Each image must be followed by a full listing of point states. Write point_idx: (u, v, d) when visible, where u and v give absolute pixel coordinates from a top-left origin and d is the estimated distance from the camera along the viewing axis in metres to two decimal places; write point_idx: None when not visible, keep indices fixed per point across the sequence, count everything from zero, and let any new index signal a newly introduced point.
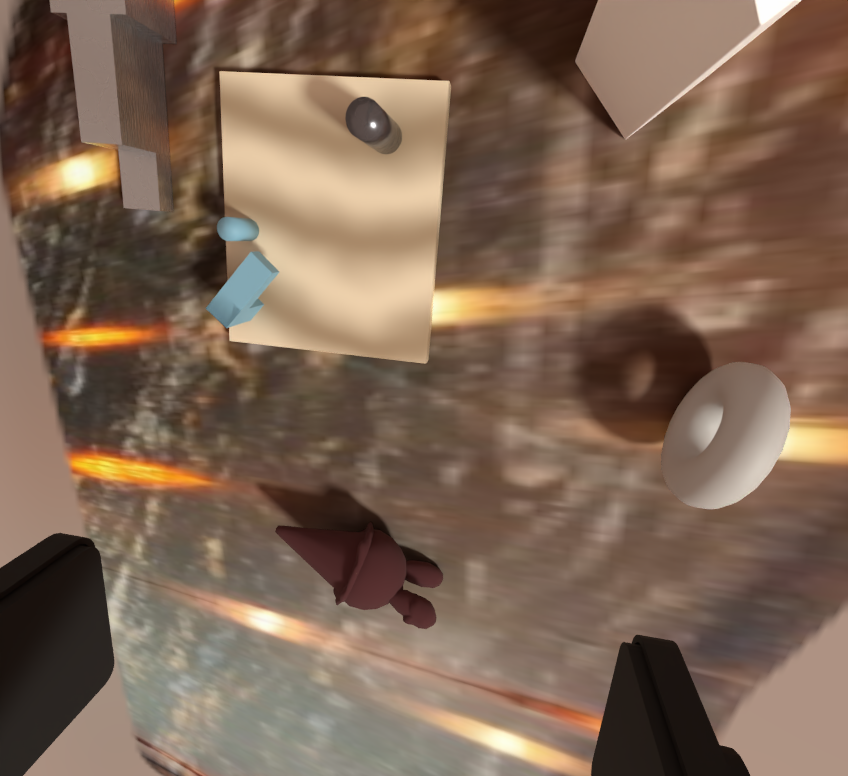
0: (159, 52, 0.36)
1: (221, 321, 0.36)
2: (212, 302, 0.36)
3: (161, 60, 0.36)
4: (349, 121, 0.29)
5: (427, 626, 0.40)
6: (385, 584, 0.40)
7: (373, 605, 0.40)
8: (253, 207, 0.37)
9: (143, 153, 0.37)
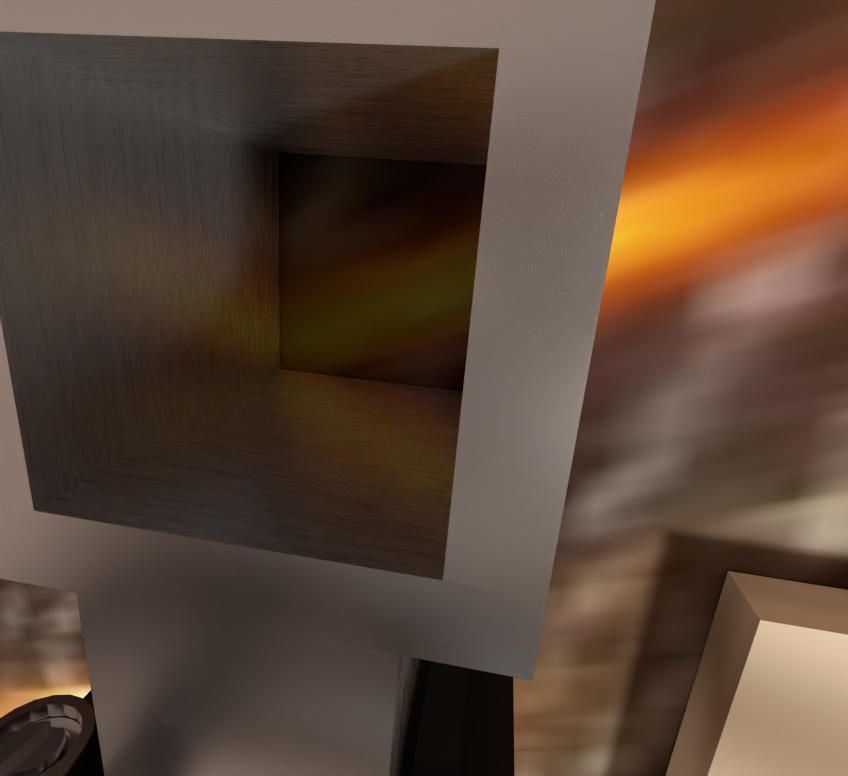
0: None
1: None
2: None
3: None
4: None
5: None
6: None
7: None
8: None
9: None
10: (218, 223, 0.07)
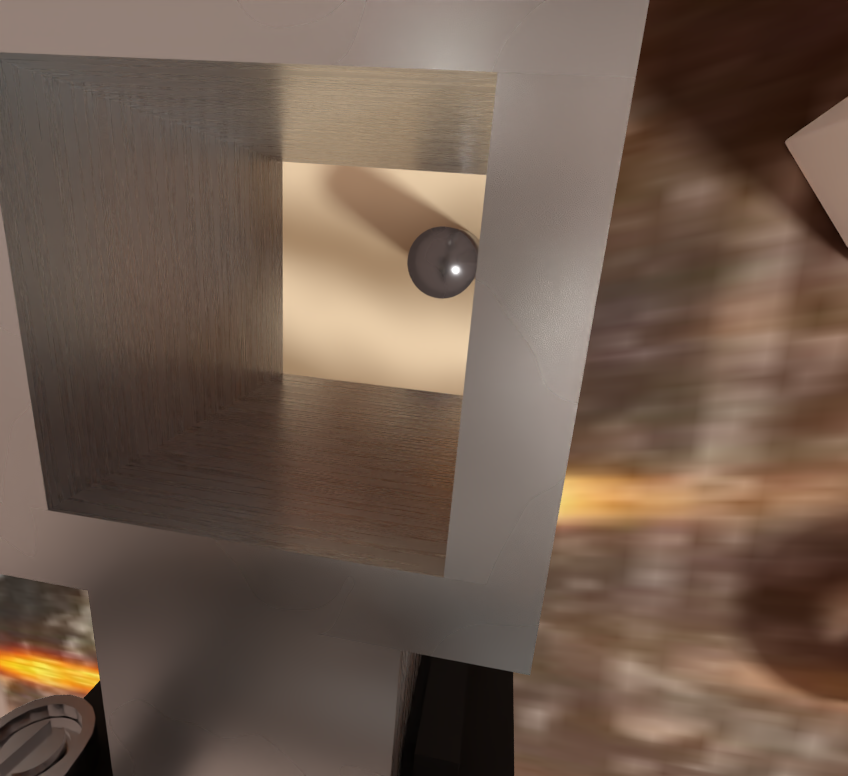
0: None
1: None
2: None
3: None
4: (414, 267, 0.16)
5: None
6: None
7: None
8: None
9: None
10: (225, 231, 0.07)
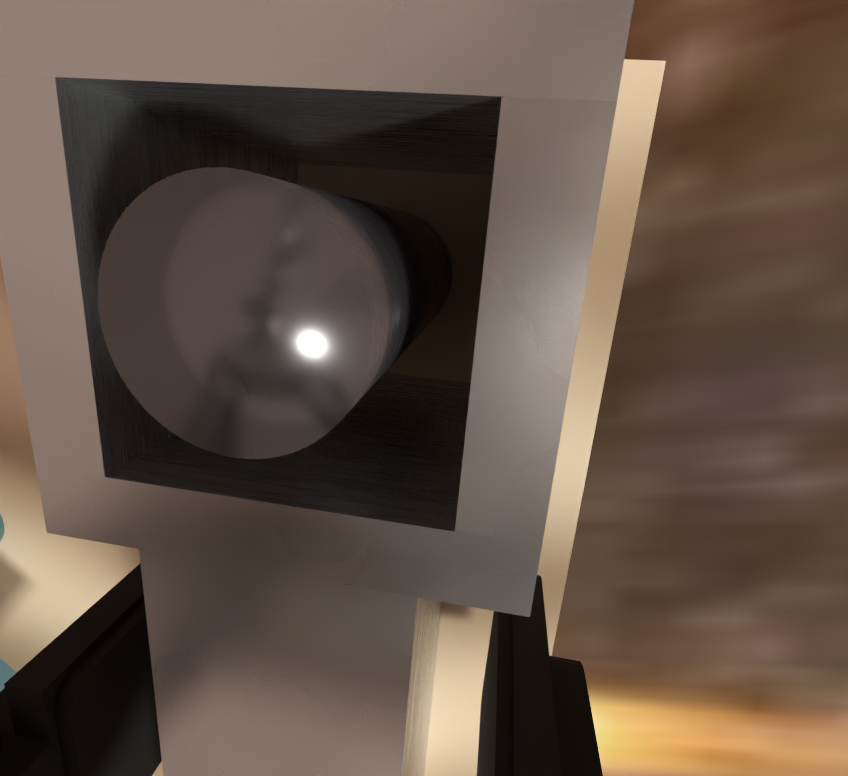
0: None
1: None
2: None
3: None
4: (130, 340, 0.04)
5: None
6: None
7: None
8: None
9: None
10: None
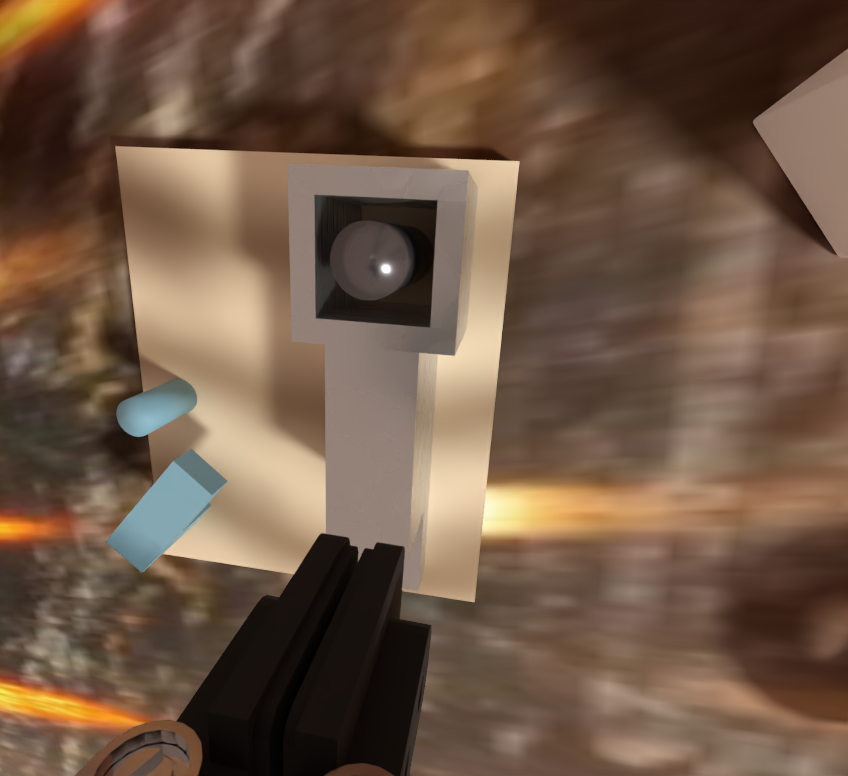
0: None
1: (133, 562, 0.21)
2: (115, 533, 0.21)
3: (436, 354, 0.20)
4: (338, 266, 0.14)
5: None
6: None
7: None
8: (186, 362, 0.22)
9: None
10: None
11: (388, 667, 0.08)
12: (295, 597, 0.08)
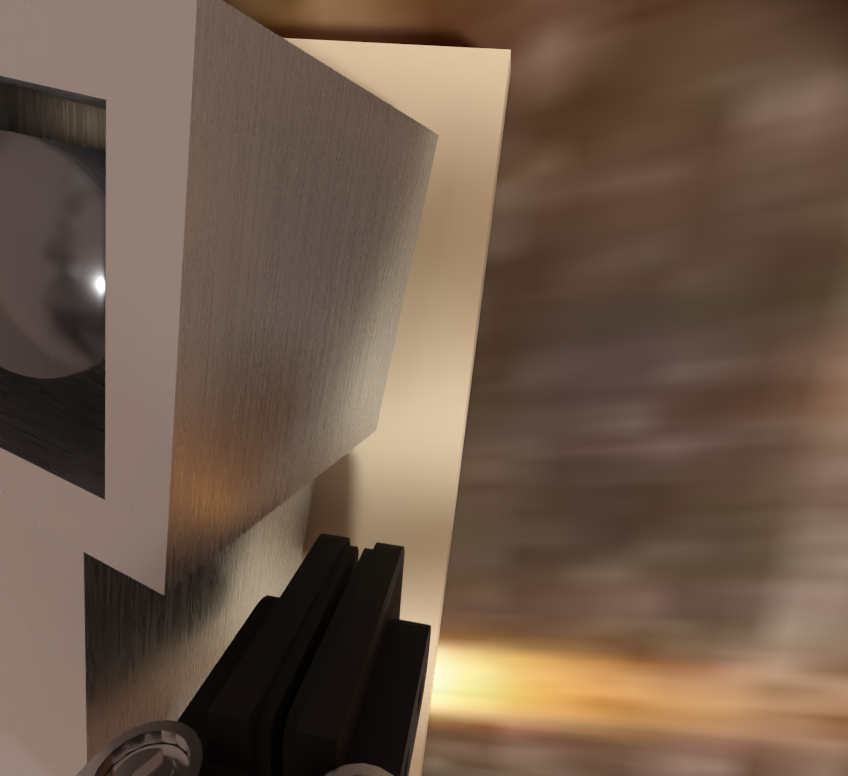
0: None
1: None
2: None
3: None
4: None
5: None
6: None
7: None
8: None
9: None
10: None
11: (388, 667, 0.08)
12: (295, 597, 0.08)
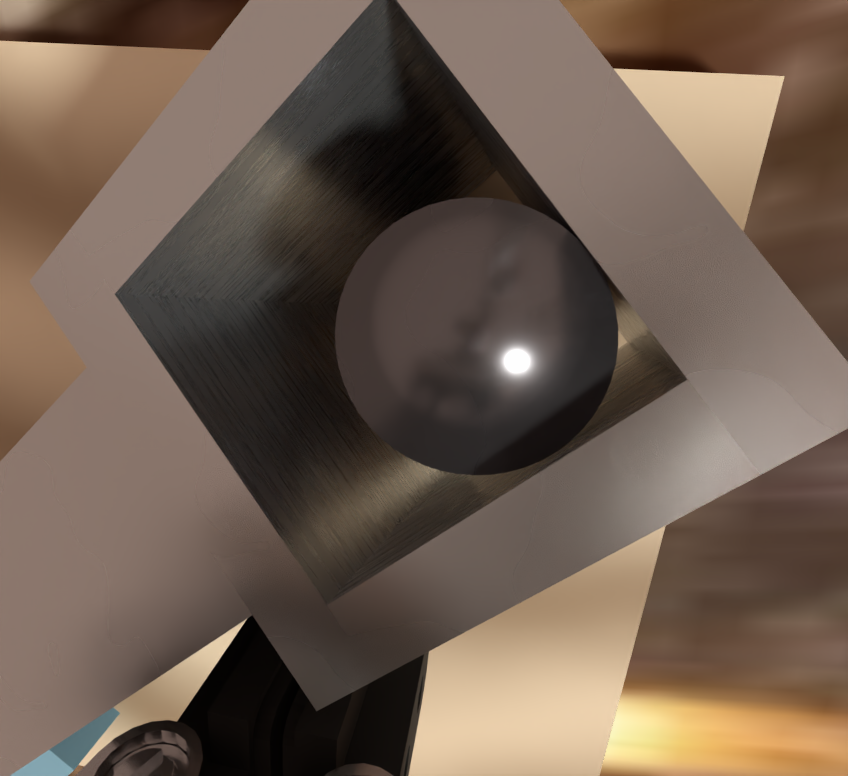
0: None
1: None
2: None
3: None
4: (364, 360, 0.04)
5: None
6: None
7: None
8: None
9: None
10: (410, 192, 0.07)
11: None
12: None
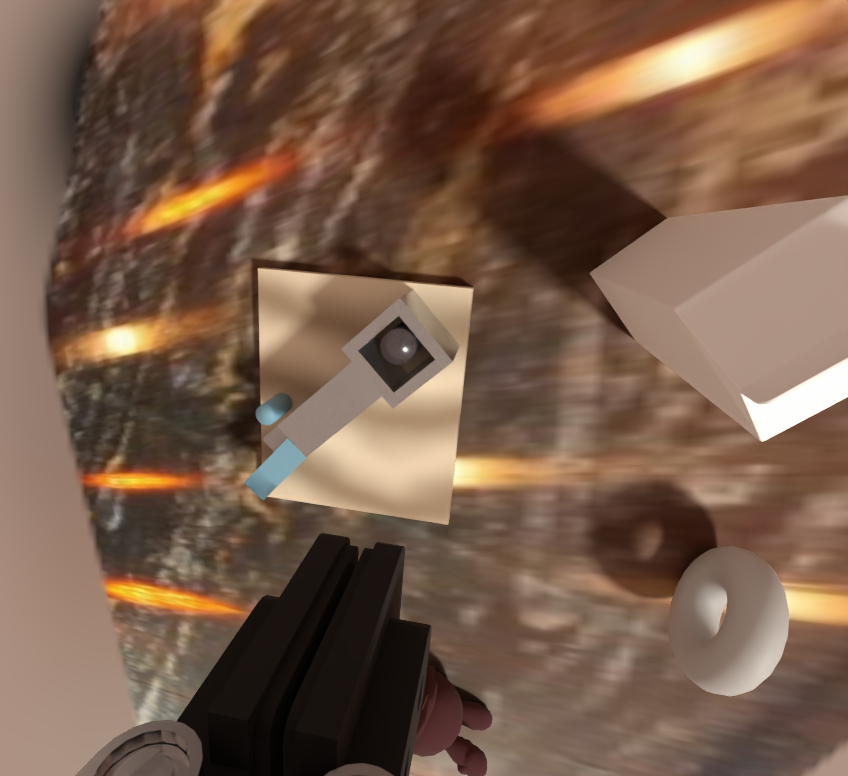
0: None
1: (258, 494, 0.39)
2: (250, 478, 0.38)
3: None
4: (384, 349, 0.32)
5: None
6: (447, 736, 0.42)
7: (432, 753, 0.42)
8: (287, 384, 0.40)
9: None
10: None
11: (388, 667, 0.08)
12: (295, 597, 0.08)
